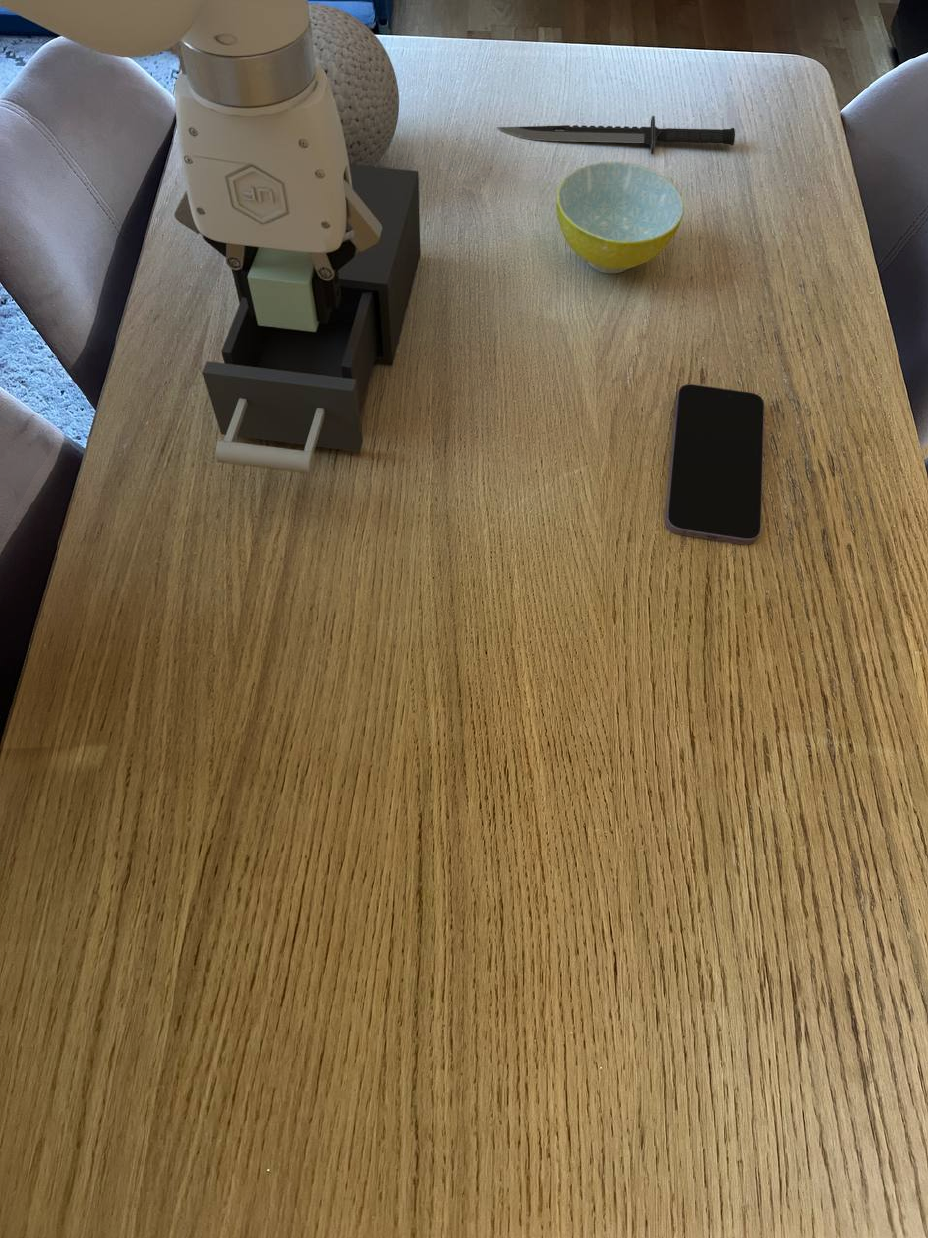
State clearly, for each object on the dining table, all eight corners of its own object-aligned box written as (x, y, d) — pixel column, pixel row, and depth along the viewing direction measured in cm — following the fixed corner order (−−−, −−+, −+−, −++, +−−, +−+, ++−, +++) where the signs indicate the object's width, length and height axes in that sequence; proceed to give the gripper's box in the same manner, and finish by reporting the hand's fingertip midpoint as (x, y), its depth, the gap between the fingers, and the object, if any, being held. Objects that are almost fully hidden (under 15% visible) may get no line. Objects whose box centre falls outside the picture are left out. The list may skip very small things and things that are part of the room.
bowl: (672, 227, 89) (687, 168, 83) (665, 307, 83) (680, 249, 78) (557, 212, 89) (564, 152, 84) (542, 290, 84) (549, 231, 78)
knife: (494, 139, 94) (497, 107, 96) (494, 155, 96) (497, 123, 98) (736, 145, 92) (734, 112, 95) (732, 160, 94) (730, 128, 96)
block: (258, 325, 67) (246, 276, 64) (272, 285, 70) (262, 236, 66) (316, 332, 67) (308, 283, 63) (328, 292, 69) (322, 242, 66)
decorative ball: (222, 189, 90) (185, 28, 77) (307, 114, 97) (287, -46, 84) (350, 240, 87) (334, 80, 74) (429, 158, 93) (427, -2, 80)
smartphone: (665, 527, 70) (678, 381, 77) (662, 535, 70) (675, 390, 78) (761, 541, 69) (765, 394, 76) (757, 549, 70) (761, 403, 77)
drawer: (345, 511, 69) (336, 452, 64) (199, 492, 70) (177, 432, 64) (391, 334, 79) (387, 268, 73) (263, 319, 80) (249, 253, 74)
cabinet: (392, 365, 78) (387, 283, 71) (250, 348, 79) (230, 265, 72) (420, 255, 86) (418, 170, 78) (289, 240, 86) (275, 155, 79)
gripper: (85, 76, 51) (169, 329, 67) (380, 107, 50) (395, 355, 66) (128, 7, 55) (198, 262, 71) (404, 34, 54) (412, 286, 70)
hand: (293, 305), depth 68 cm, fingers closed on block, 4 cm apart
